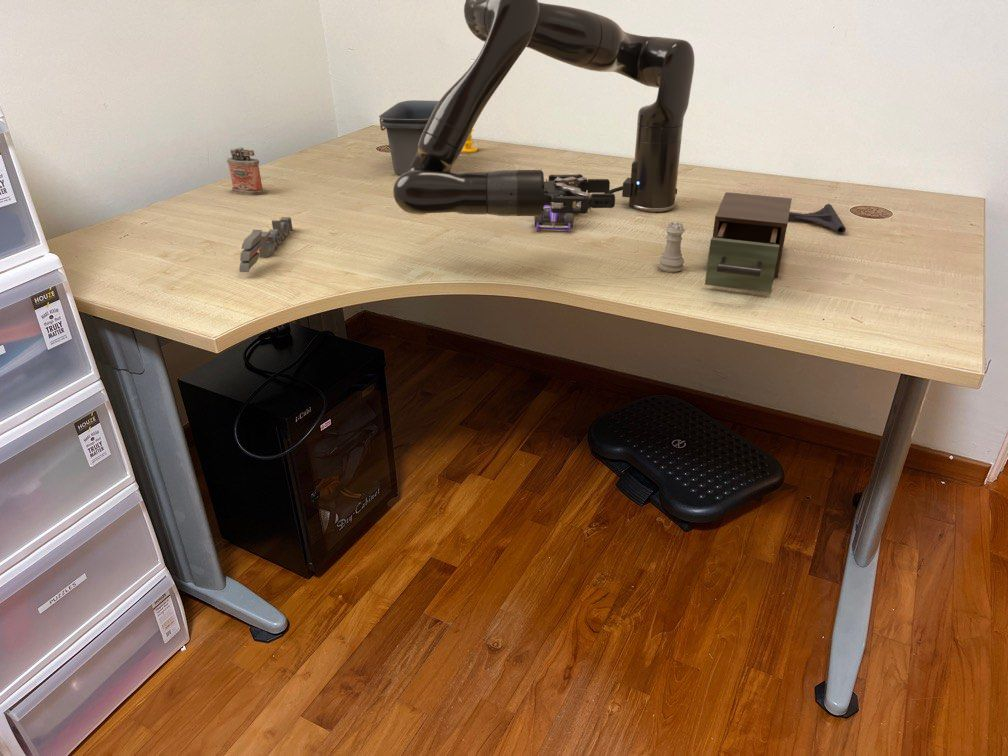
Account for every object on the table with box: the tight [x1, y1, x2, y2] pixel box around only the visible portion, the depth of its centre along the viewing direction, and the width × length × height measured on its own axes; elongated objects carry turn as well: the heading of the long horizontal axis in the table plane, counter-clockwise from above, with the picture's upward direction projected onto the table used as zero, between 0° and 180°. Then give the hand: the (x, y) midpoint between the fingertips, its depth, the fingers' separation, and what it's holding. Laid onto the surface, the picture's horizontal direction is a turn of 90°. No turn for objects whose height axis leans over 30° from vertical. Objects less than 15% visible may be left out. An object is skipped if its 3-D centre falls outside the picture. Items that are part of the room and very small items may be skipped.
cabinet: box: [712, 191, 793, 279], centre depth 135 cm, size 15×12×10 cm
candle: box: [460, 128, 478, 154], centre depth 204 cm, size 5×5×16 cm
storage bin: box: [378, 99, 440, 176], centre depth 190 cm, size 21×16×14 cm
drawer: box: [704, 222, 779, 294], centre depth 125 cm, size 18×10×8 cm, turn 159°
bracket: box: [788, 203, 846, 235], centre depth 154 cm, size 14×15×3 cm
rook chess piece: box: [657, 221, 686, 273], centre depth 132 cm, size 4×4×8 cm
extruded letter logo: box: [239, 216, 294, 273], centre depth 141 cm, size 25×2×6 cm, turn 177°
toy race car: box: [533, 178, 579, 233], centre depth 155 cm, size 10×15×6 cm, turn 174°
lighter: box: [226, 146, 265, 196], centre depth 174 cm, size 8×3×10 cm, turn 68°
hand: (611, 193), depth 127 cm, fingers open, 8 cm apart
